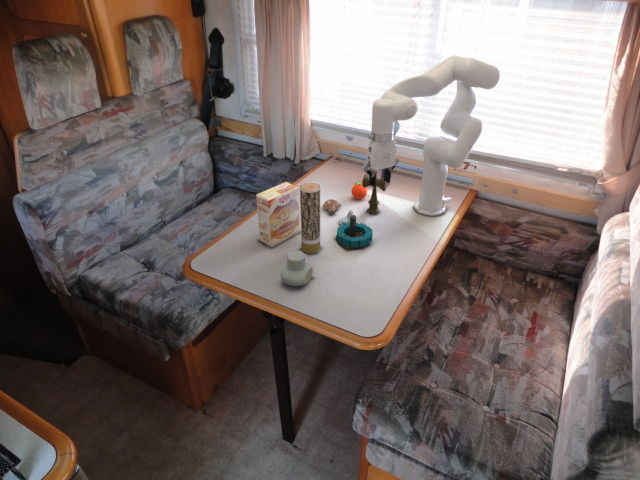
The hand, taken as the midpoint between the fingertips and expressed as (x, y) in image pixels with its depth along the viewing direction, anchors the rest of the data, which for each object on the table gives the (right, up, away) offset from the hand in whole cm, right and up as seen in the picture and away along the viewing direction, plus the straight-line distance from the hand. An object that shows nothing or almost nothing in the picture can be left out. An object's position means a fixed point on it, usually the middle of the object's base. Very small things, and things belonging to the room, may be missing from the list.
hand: (379, 183), depth 164 cm
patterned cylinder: (-25, -24, -1) cm, 35 cm away
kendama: (0, -10, +22) cm, 24 cm away
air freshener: (-30, -34, -17) cm, 49 cm away
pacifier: (-11, -14, +15) cm, 23 cm away
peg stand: (-10, -22, +3) cm, 24 cm away
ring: (-9, -20, +2) cm, 22 cm away
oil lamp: (-17, -9, +23) cm, 30 cm away
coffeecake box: (-37, -20, +6) cm, 43 cm away
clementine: (-5, -3, +33) cm, 33 cm away
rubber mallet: (+8, +5, +45) cm, 46 cm away
